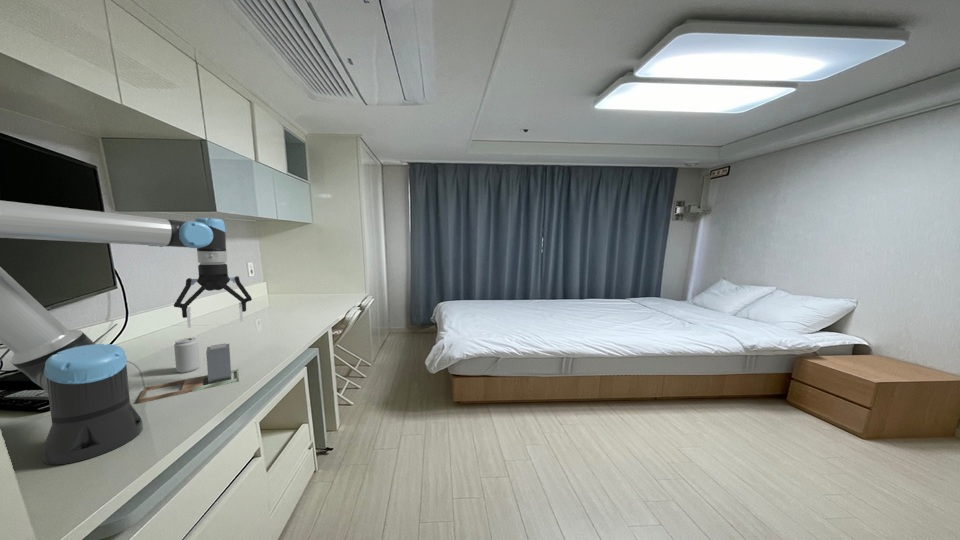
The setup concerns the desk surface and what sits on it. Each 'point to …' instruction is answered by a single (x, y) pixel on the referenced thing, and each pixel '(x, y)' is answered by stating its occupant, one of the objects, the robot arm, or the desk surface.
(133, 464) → the desk surface
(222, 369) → the block
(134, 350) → the desk surface
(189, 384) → the rail
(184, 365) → the beverage can
